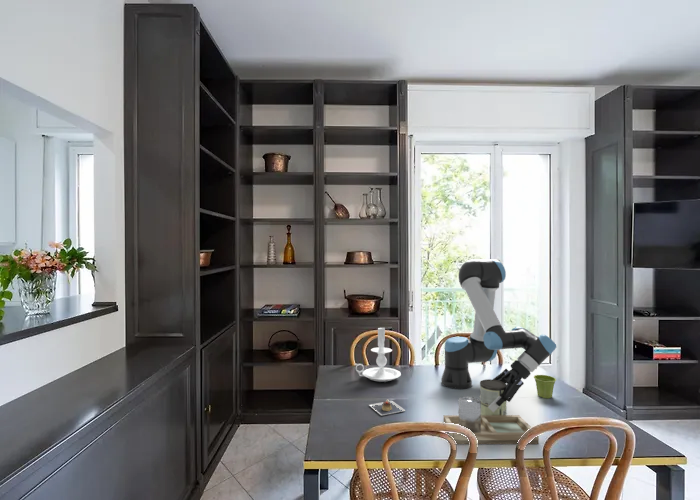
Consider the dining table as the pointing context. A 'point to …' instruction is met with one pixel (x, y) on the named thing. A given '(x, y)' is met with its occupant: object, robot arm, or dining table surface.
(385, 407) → the dessert
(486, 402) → the coffee can
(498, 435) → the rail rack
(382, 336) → the candlestick
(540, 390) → the plant pot
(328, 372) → the dining table surface
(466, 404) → the clear glass jar
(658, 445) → the dining table surface
